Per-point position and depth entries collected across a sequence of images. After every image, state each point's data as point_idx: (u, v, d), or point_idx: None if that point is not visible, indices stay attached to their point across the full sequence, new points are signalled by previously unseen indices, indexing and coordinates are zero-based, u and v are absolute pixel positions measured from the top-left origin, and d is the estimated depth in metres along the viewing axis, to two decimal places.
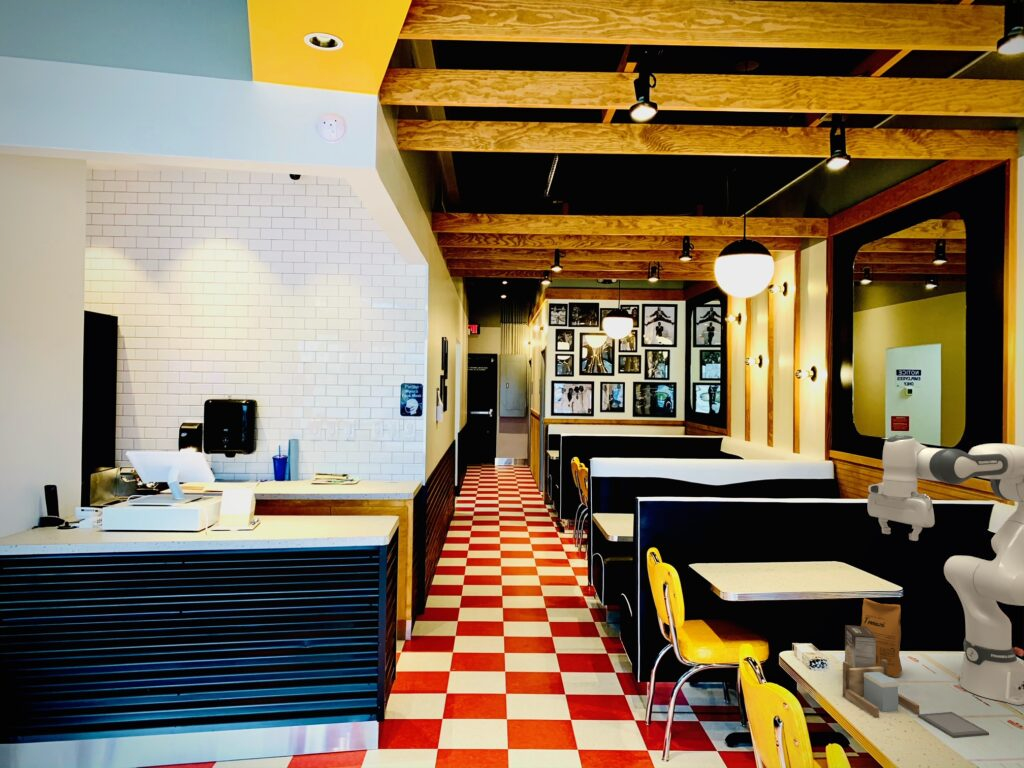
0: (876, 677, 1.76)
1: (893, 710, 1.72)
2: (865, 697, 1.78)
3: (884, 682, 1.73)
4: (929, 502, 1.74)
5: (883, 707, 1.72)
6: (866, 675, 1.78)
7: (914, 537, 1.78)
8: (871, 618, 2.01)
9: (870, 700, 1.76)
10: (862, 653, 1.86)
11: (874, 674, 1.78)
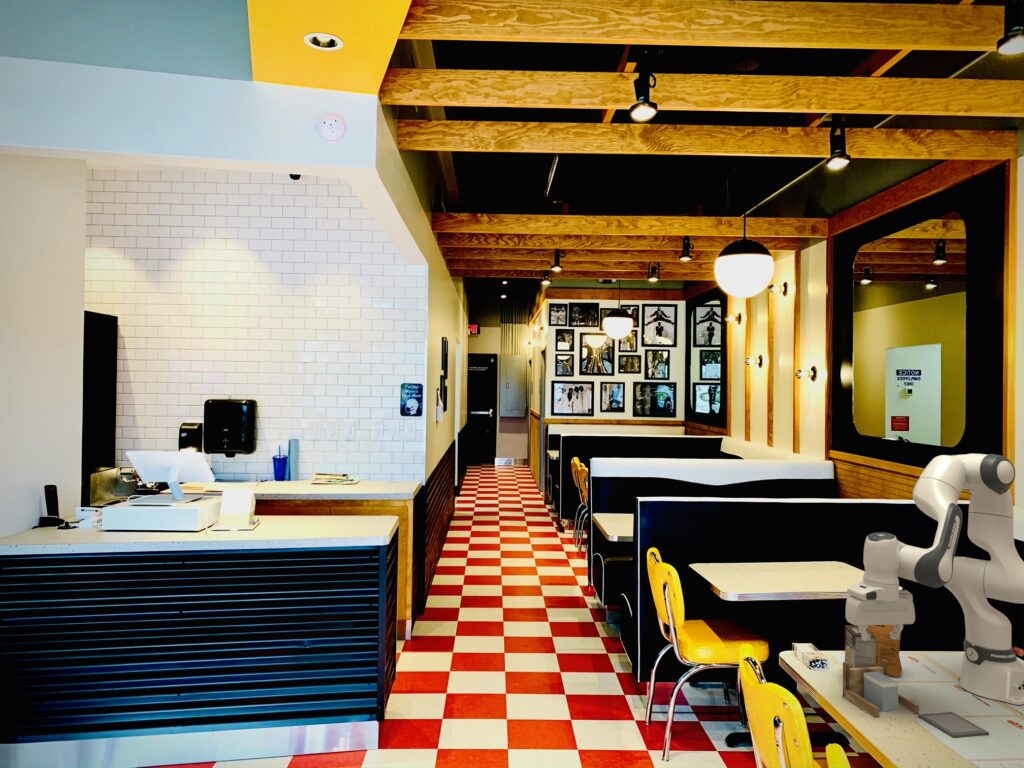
0: (876, 677, 1.76)
1: (893, 710, 1.72)
2: (865, 697, 1.78)
3: (884, 682, 1.73)
4: (911, 597, 1.78)
5: (883, 707, 1.72)
6: (866, 675, 1.78)
7: None
8: None
9: (870, 700, 1.76)
10: (862, 653, 1.86)
11: (874, 674, 1.78)
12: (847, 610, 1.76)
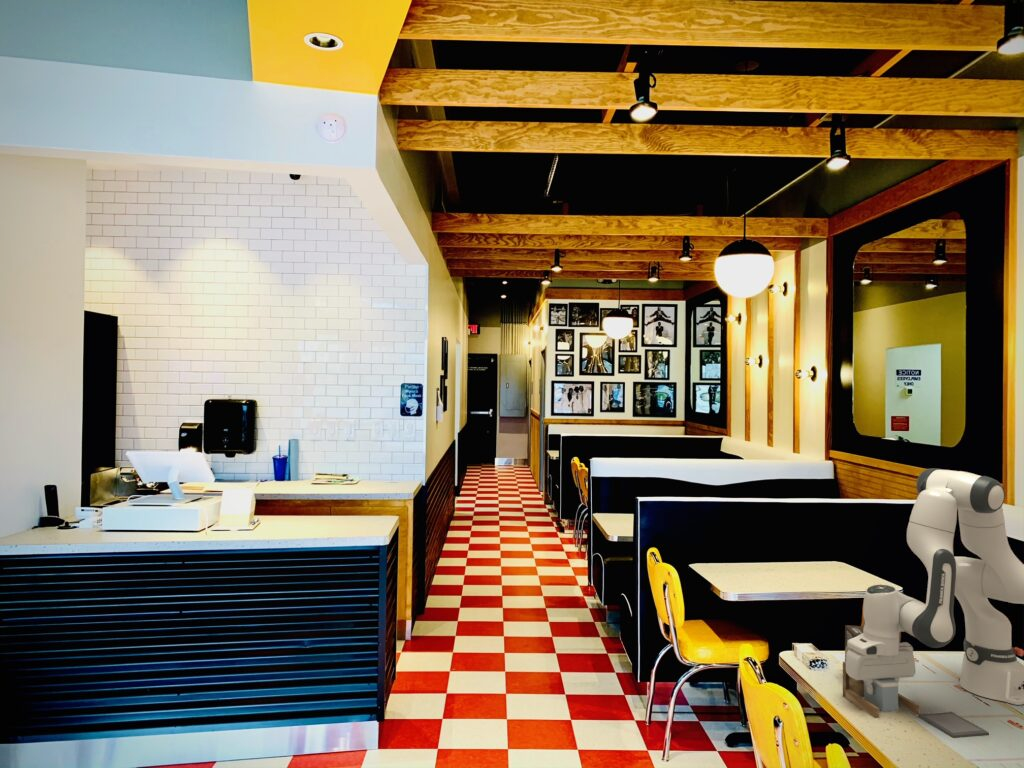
0: None
1: (893, 710, 1.72)
2: (865, 697, 1.78)
3: (884, 682, 1.73)
4: (912, 649, 1.78)
5: (883, 707, 1.72)
6: None
7: None
8: None
9: (870, 700, 1.76)
10: None
11: None
12: (847, 663, 1.75)
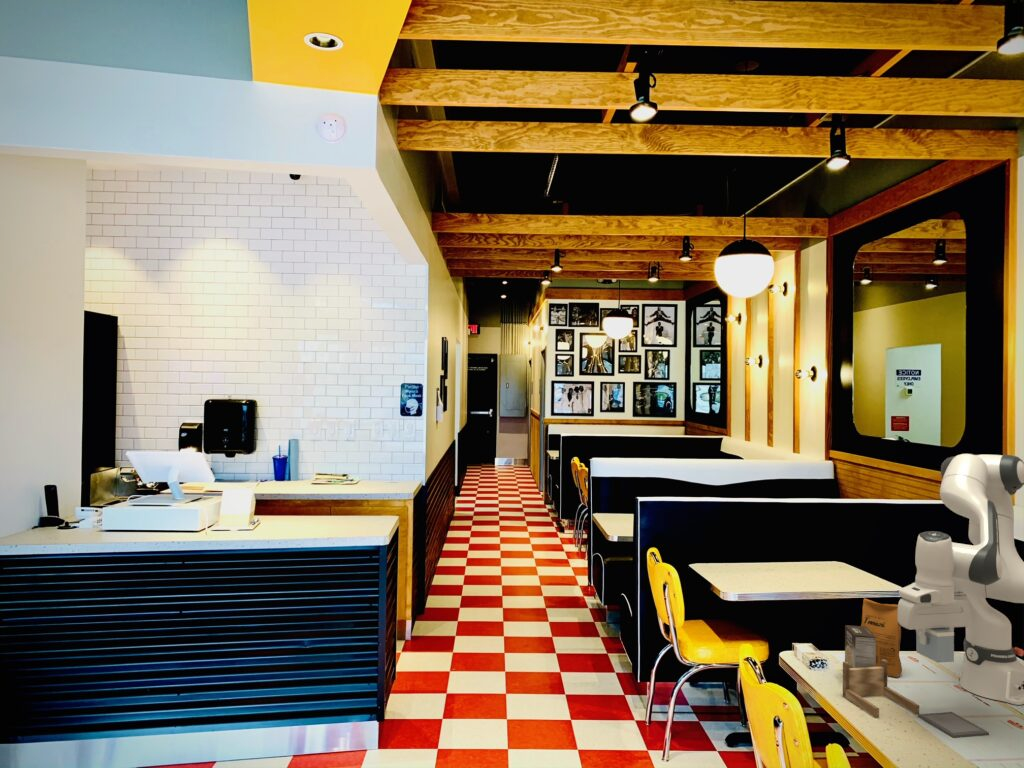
0: None
1: (949, 660, 1.65)
2: (918, 648, 1.71)
3: (939, 631, 1.66)
4: (967, 599, 1.70)
5: (938, 657, 1.65)
6: None
7: None
8: (871, 617, 2.01)
9: (923, 651, 1.69)
10: (862, 653, 1.86)
11: None
12: (899, 613, 1.68)
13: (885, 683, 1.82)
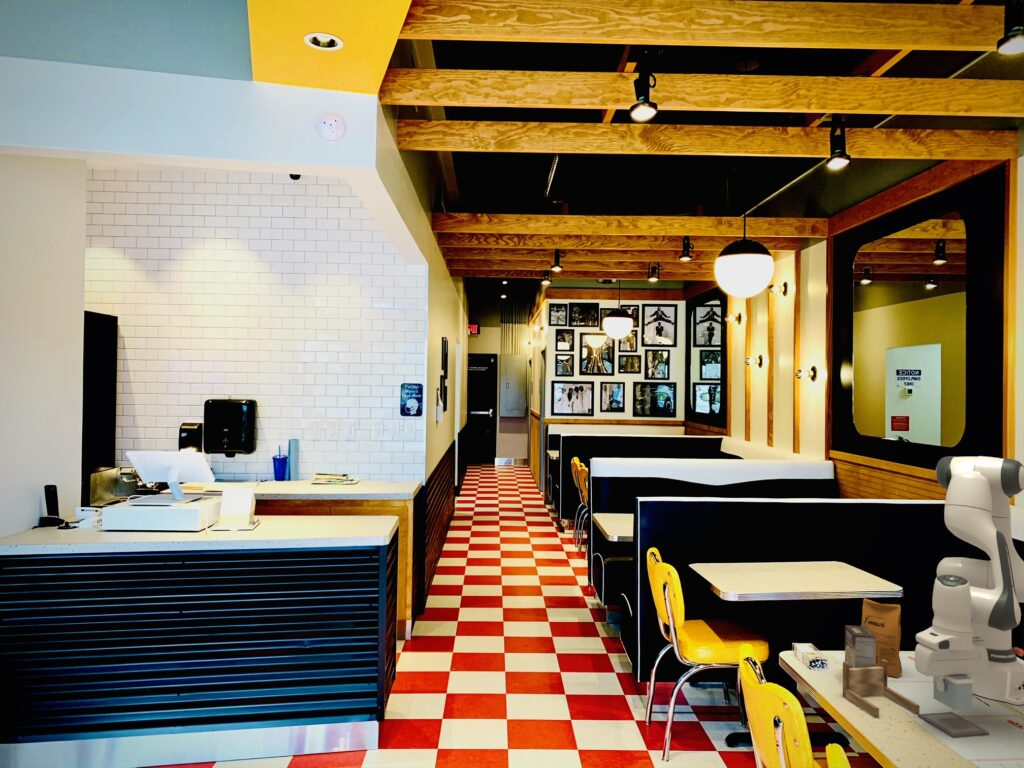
0: None
1: (967, 708, 1.62)
2: (935, 694, 1.68)
3: (957, 678, 1.62)
4: (984, 644, 1.68)
5: (957, 705, 1.62)
6: None
7: None
8: (871, 618, 2.01)
9: (941, 698, 1.66)
10: (862, 653, 1.86)
11: None
12: (917, 659, 1.65)
13: (885, 683, 1.82)
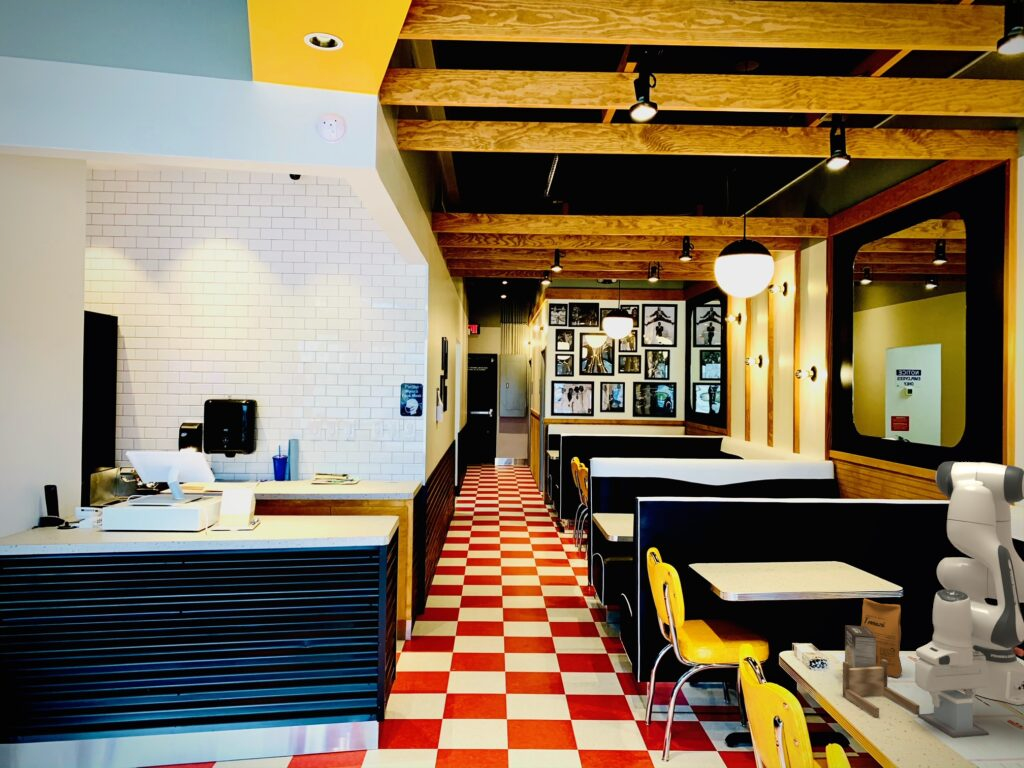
0: (948, 692, 1.66)
1: (967, 728, 1.62)
2: (935, 713, 1.68)
3: (958, 698, 1.62)
4: (985, 659, 1.67)
5: (957, 725, 1.62)
6: None
7: None
8: (871, 618, 2.01)
9: (941, 717, 1.66)
10: (862, 653, 1.86)
11: None
12: (917, 674, 1.65)
13: (885, 683, 1.82)
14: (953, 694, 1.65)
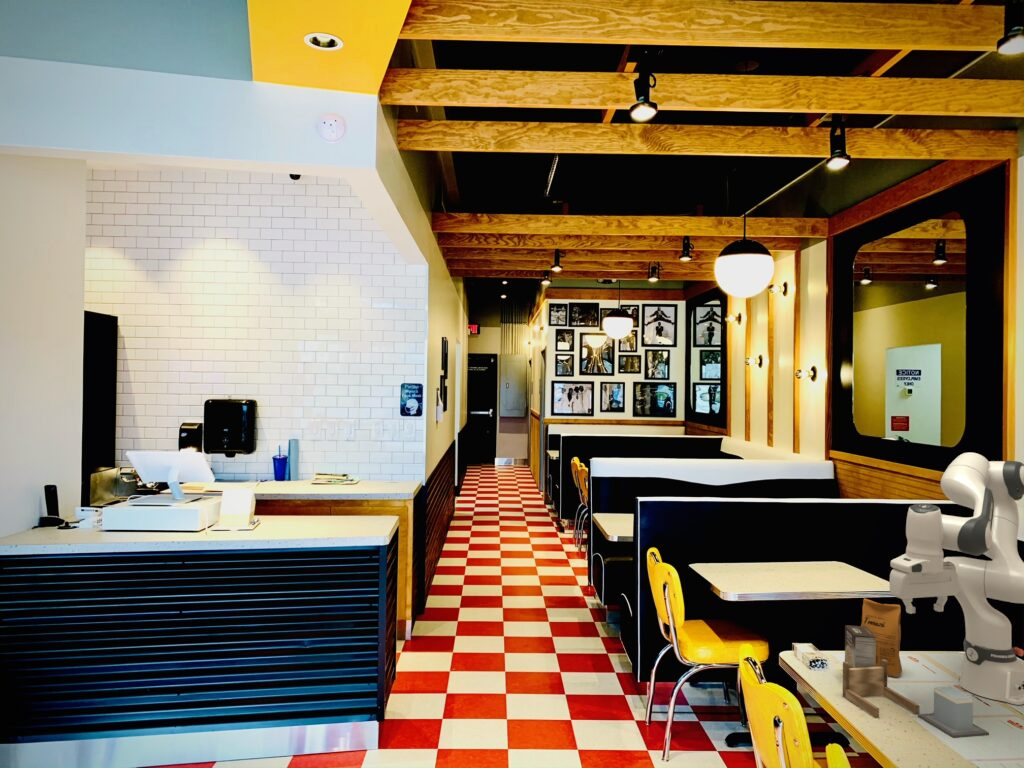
0: (948, 692, 1.66)
1: (967, 728, 1.62)
2: (935, 713, 1.68)
3: (958, 698, 1.62)
4: (955, 568, 1.76)
5: (957, 725, 1.62)
6: (936, 690, 1.68)
7: None
8: (871, 618, 2.01)
9: (941, 717, 1.66)
10: (862, 653, 1.86)
11: (945, 689, 1.68)
12: (891, 583, 1.73)
13: (885, 683, 1.82)
14: (953, 694, 1.65)
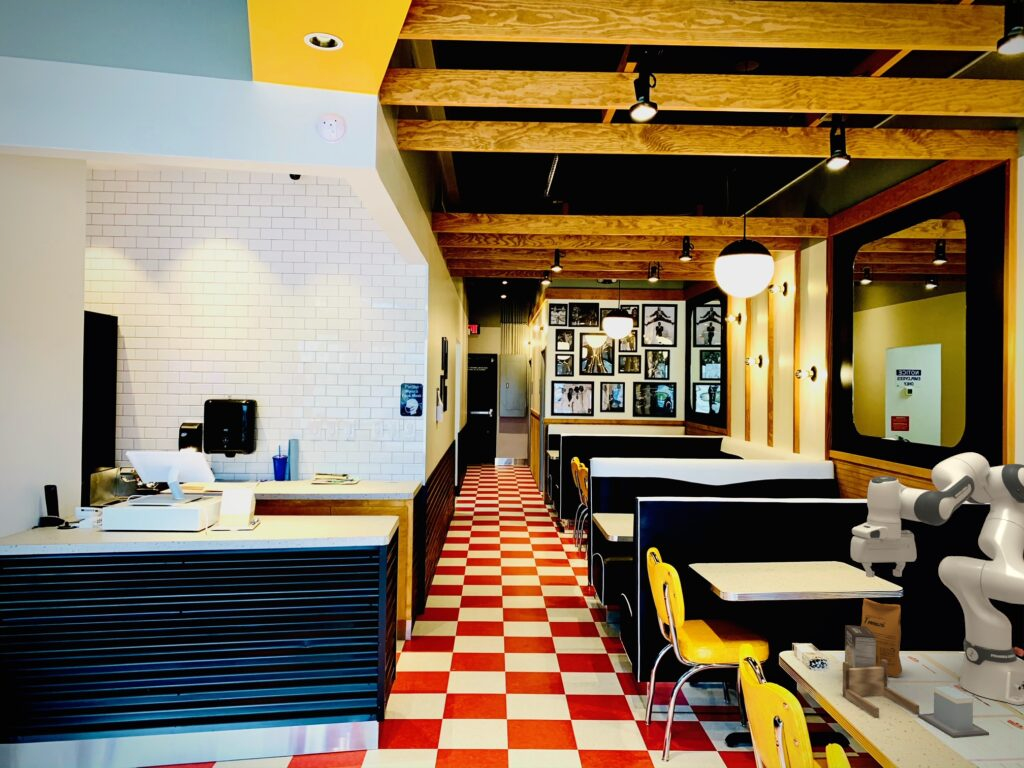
0: (948, 692, 1.66)
1: (967, 728, 1.62)
2: (935, 713, 1.68)
3: (958, 698, 1.62)
4: (913, 537, 1.88)
5: (957, 725, 1.62)
6: (936, 690, 1.68)
7: None
8: (871, 618, 2.01)
9: (941, 717, 1.66)
10: (862, 653, 1.86)
11: (945, 689, 1.68)
12: (852, 548, 1.86)
13: (885, 683, 1.82)
14: (953, 694, 1.65)
